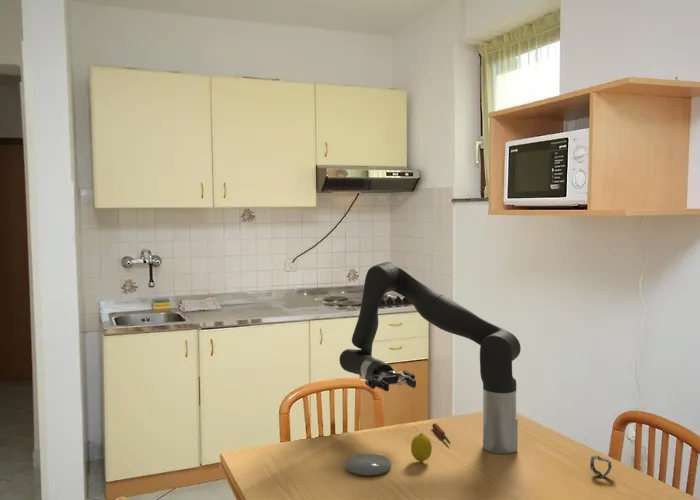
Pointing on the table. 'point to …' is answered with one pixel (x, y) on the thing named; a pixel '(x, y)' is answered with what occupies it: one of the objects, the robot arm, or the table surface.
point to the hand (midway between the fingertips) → (401, 386)
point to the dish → (368, 464)
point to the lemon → (421, 447)
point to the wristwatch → (592, 465)
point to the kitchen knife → (440, 432)
